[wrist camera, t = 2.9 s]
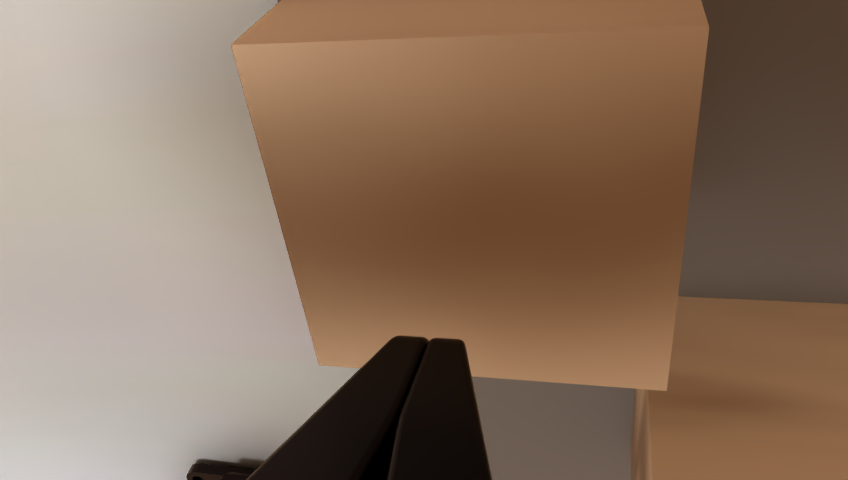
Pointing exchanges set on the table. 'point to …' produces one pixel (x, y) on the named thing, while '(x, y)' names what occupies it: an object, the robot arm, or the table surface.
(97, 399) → the table surface
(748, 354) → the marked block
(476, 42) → the plain block
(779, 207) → the mat
